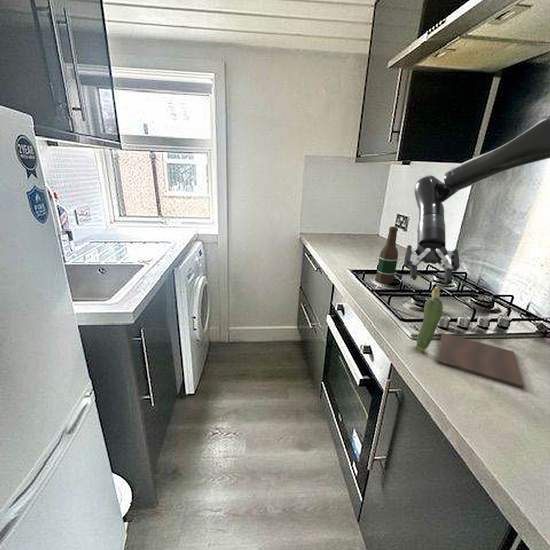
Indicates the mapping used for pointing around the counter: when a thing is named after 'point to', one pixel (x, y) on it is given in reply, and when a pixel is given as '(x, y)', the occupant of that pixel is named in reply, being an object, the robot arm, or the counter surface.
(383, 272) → the beer bottle
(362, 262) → the counter surface
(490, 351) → the board
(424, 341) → the vegetable
